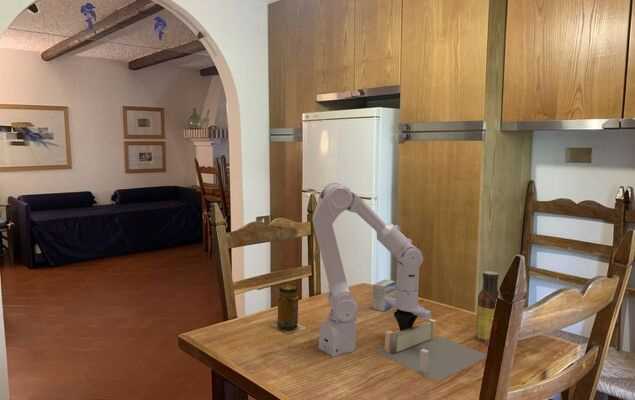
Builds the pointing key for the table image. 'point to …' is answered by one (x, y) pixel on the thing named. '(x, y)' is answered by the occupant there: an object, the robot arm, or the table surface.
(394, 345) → the gate
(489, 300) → the sauce bottle
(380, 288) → the medicine box
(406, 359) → the grey square baseplate
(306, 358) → the table surface
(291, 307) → the condiment
